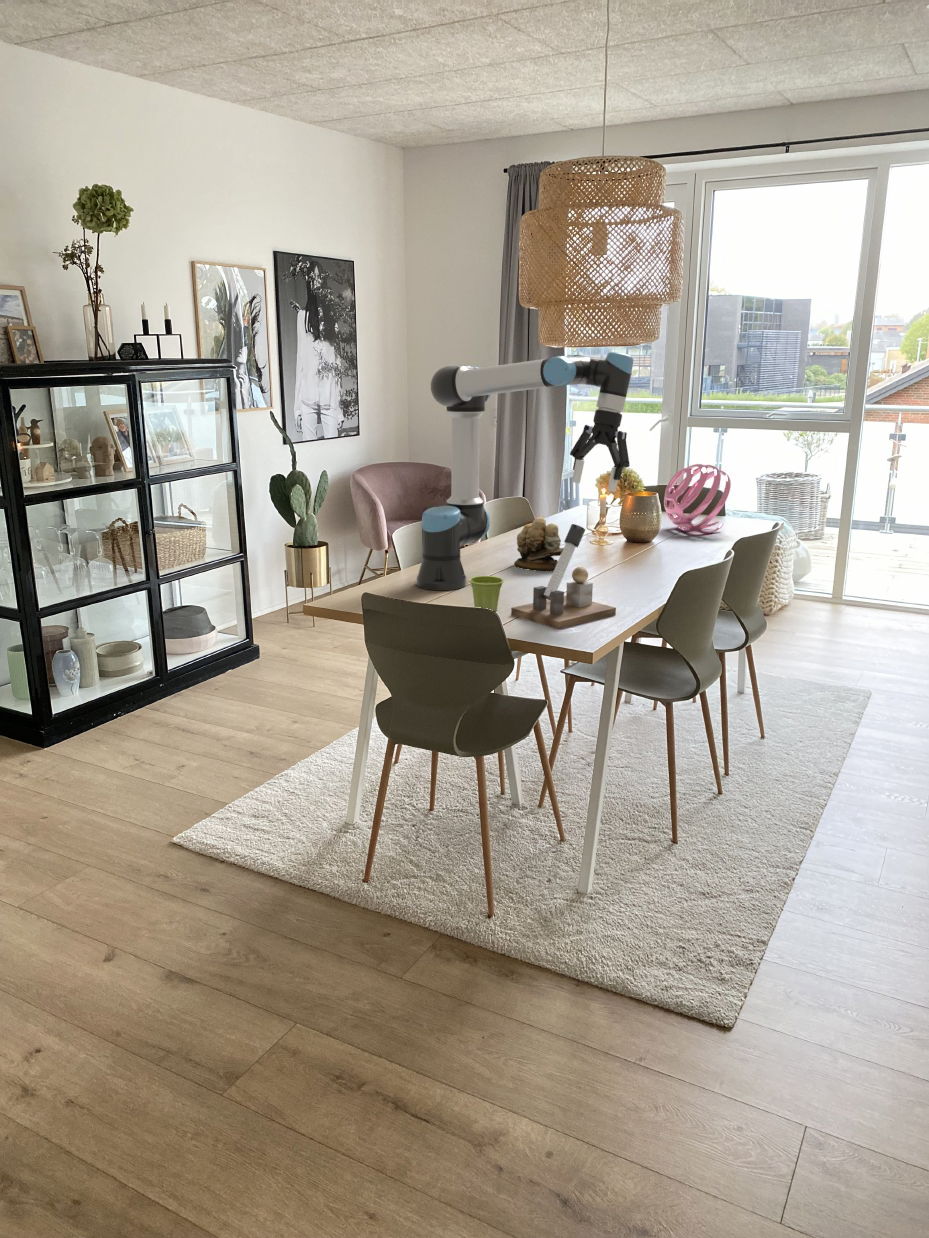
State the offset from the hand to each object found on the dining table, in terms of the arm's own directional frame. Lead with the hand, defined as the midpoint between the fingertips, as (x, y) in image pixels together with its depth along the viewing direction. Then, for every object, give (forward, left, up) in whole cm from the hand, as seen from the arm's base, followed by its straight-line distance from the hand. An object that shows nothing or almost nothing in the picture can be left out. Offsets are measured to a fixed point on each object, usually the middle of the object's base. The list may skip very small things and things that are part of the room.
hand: (593, 487), depth 265 cm
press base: (+8, -19, -32) cm, 38 cm away
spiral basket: (-47, +112, -32) cm, 126 cm away
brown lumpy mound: (-39, +18, -33) cm, 54 cm away
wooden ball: (+8, -13, -24) cm, 29 cm away
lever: (+8, -25, -26) cm, 37 cm away
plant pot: (-9, -32, -32) cm, 46 cm away
